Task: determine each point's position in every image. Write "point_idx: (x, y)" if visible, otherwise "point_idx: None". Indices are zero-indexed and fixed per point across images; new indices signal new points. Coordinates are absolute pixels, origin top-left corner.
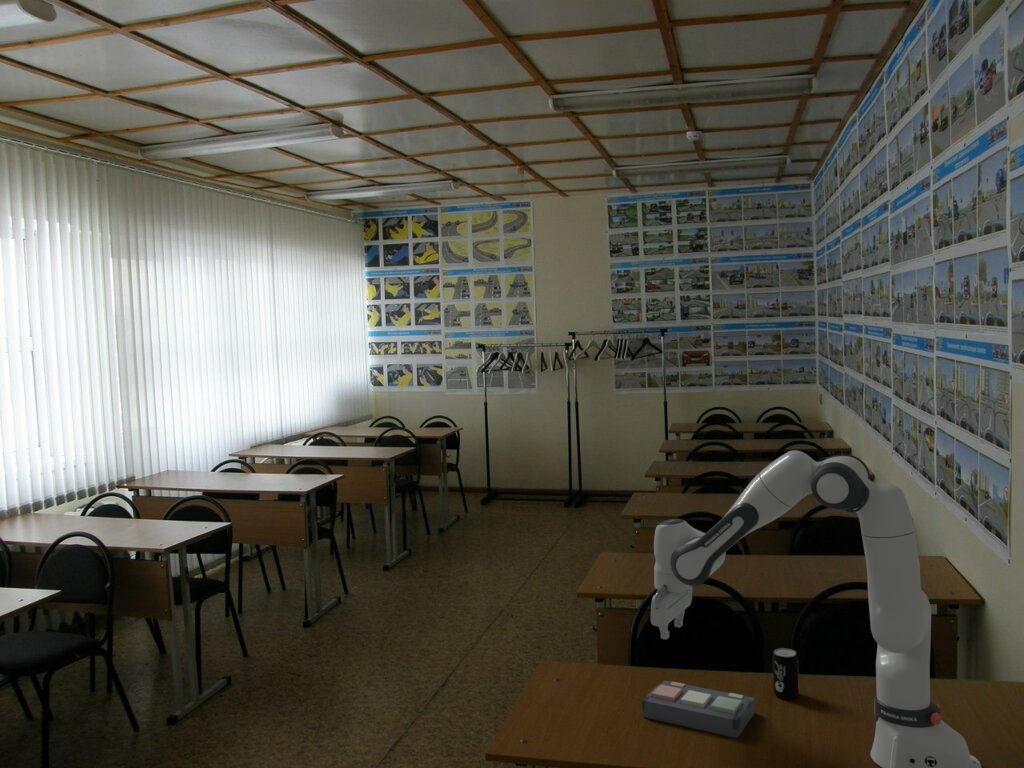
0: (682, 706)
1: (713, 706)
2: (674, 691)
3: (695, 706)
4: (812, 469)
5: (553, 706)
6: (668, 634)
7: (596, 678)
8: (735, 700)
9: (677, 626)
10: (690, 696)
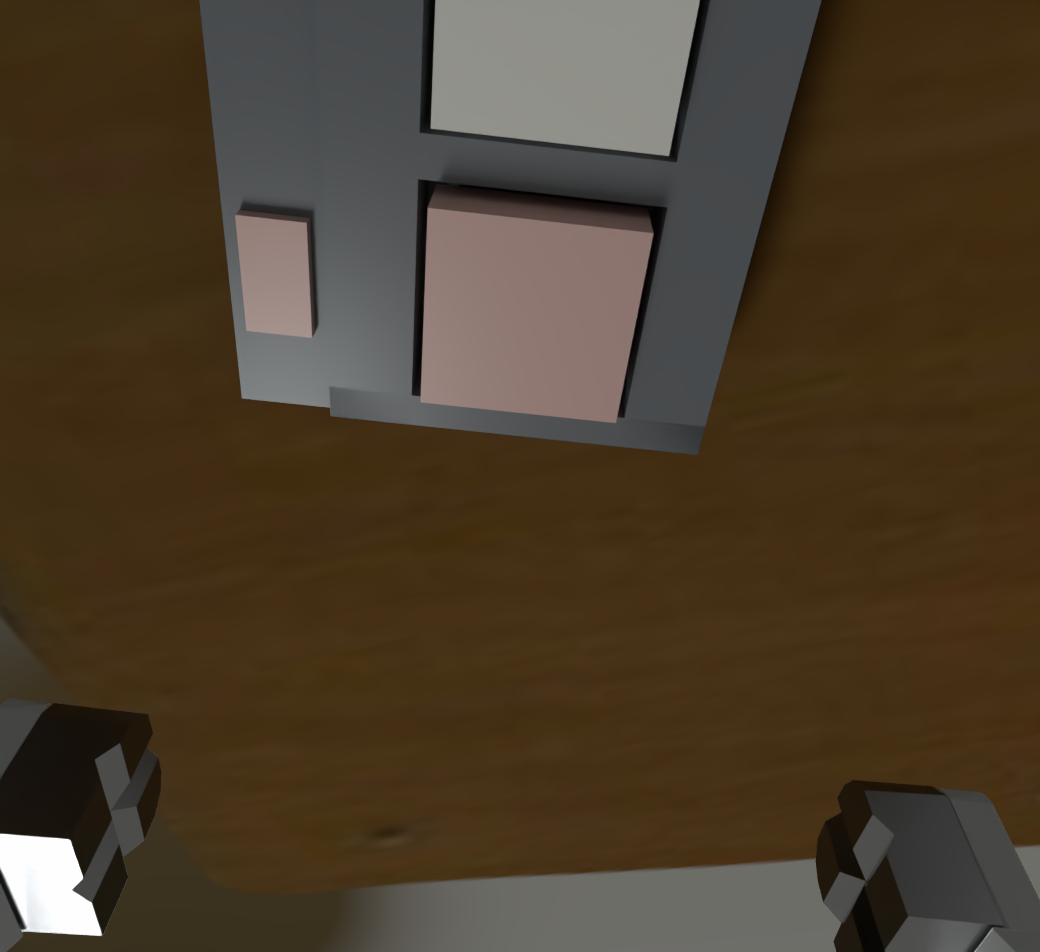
0: (744, 108)
1: None
2: (516, 258)
3: None
4: None
5: (678, 782)
6: (935, 857)
7: (278, 716)
8: None
9: (141, 759)
10: (577, 72)
